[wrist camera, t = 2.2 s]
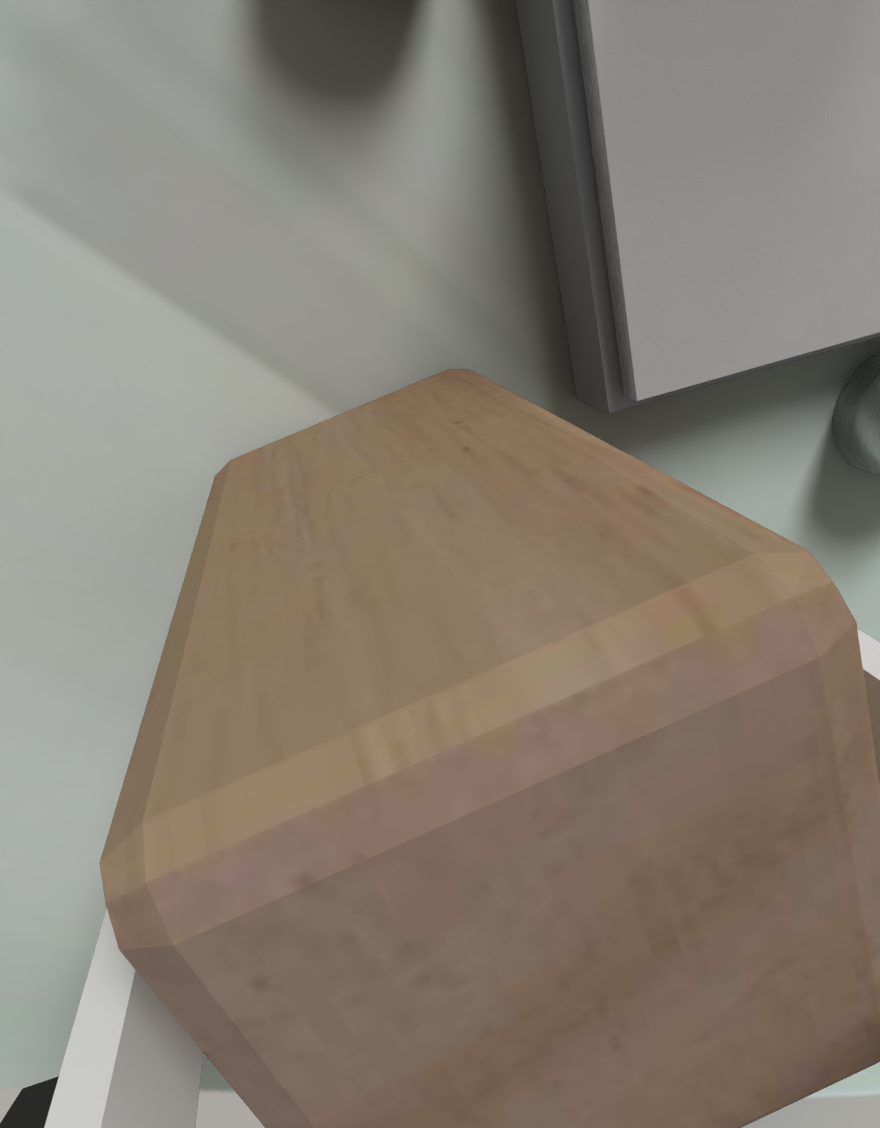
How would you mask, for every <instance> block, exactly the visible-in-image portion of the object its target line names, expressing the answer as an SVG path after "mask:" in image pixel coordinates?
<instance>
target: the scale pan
mask: <svg viewBox="0 0 880 1128" xmlns="http://www.w3.org/2000/svg"><path fill="white" fill-rule="evenodd" d="M573 5H574V13H575V21H576V29H577V36H578V44H579V52H580V60H581V67H582V75H583V83H584V91H585V98H586V106H587V114H588V122H589V129H590V137H591V145H592V153H593V161H594V168H595V176H596V184H597V192H598V199H599V207H600V215H601V223H602V230H603V238H604V246H605V254H606V261H607V269H608V277H609V285H610V292H611V300H612V308H613V316H614V324H615V331H616V339H617V347H618V355H619V362H620V370H621V378H622V386H623V393H624V396H625V397H628V398H630V399H633V400H636V401H639V400H643V399H646V398H650V397H653V396H657V395H660V394H664V393H667V392H671V391H674V390H678V389H681V388H685V387H688V386H692V385H695V384H699V383H702V382H706V381H709V380H713V379H717V378H720V377H724V376H727V375H731V374H734V373H738V372H741V371H745V370H748V369H752V368H755V367H759V366H762V365H766V364H769V363H773V362H776V361H780V360H783V359H787V358H790V357H794V356H798V355H801V354H805V353H808V352H812V351H815V350H819V349H822V348H826V347H829V346H833V345H836V344H840V343H843V342H847V341H850V340H854V339H857V338H861V337H864V336H868V335H871V334H875V333H878V332H880V0H573Z"/></svg>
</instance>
